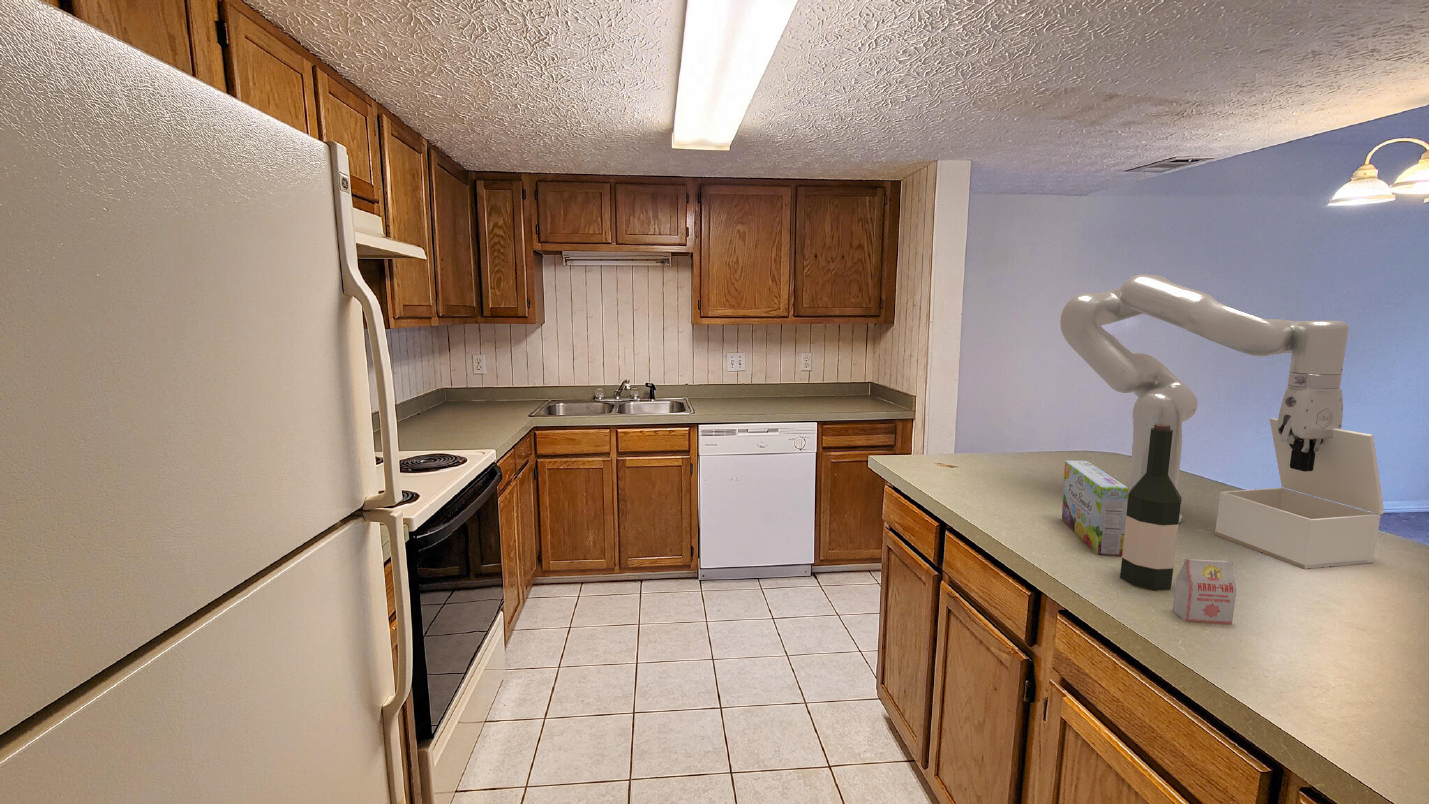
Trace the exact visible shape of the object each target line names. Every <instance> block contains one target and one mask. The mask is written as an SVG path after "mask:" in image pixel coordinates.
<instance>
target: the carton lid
mask: <svg viewBox="0 0 1429 804" xmlns="http://www.w3.org/2000/svg"><path fill="white" fill-rule="evenodd" d="M1269 423H1270V428H1271V429H1270V430H1271V433H1272V439H1273V445H1274V450H1275V457H1276V462H1277V468H1278V473H1279V477H1280V478H1279V479H1280V484H1281V488H1285V489H1288V490H1292V491H1295V492H1299V493H1303V494H1306V495H1310V496H1314V497H1317V498H1321V499H1325V500H1328V501H1332V502H1335V503H1339V504H1343V505H1346V506H1350V507H1354V508H1357V509H1361V510H1365V511H1368V512H1372V513H1375V514H1379V515H1383V514H1385V509H1384V502H1383V501H1384V500H1383V495H1382V487H1381V480H1380V474H1379V473H1380V472H1379V466H1378V465H1379V464H1378V459H1377V453H1376V444H1375V437H1374V434H1371V433H1364V432H1361V431H1360V432H1359V431H1355V430H1354V431H1353V430H1347V429H1343V428H1341V429H1337V428H1335V429H1333V430H1332V432H1333V437H1332V438H1322V439H1323V443H1322V444H1321V445H1320V447H1319V450H1318V452H1315V453H1316V454H1315V461H1314V468H1313V471H1306V472H1304V471H1300V470H1296V469H1292V468H1290V460H1291V453H1292V450H1291V449H1290V445H1289V444H1288V443H1284V442H1281V441H1280V438H1281V434H1279V433H1278V430H1277V425H1278V417H1270V418H1269ZM1300 441H1301V440H1300Z"/></svg>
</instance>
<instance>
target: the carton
mask: <svg viewBox="0 0 1429 804" xmlns="http://www.w3.org/2000/svg"><path fill="white" fill-rule="evenodd" d="M1218 499H1219V500H1218V507H1217V515H1216V516H1217V517H1216V524H1215V532H1214V535H1215V536H1217V537H1219V538H1223V539H1225V540H1227V541H1230V542H1233V543H1236V544H1238V545H1241V546H1243V547H1246V548H1248V549H1252V550H1253V551H1256V550H1257V552H1259V553H1261V552H1263V553H1262V554H1263V555H1267V556H1269V557H1272V558H1274V559H1277V560H1279V561H1282V562H1285V563H1288V564H1290V565H1292V566H1295V567H1296V568H1297V567H1298V568H1301V569H1303V570H1307V569H1308V568H1311V569H1321V567H1323V568H1330V567H1329V566H1334V567H1343V566H1354V565H1355V566H1356V565H1364V564H1373V562H1374V556H1375V553H1376V552H1375V550H1376V546H1377V539H1378V533H1379V527H1380V521H1381V515H1382V514H1377V513H1374V512H1370V511H1366V510H1363V509H1359V508H1355V507H1352V506H1348V505H1345V504H1341V503H1337V502H1334V501H1330V500H1326V499H1323V498H1319V497H1315V496H1312V495H1308V494H1304V493H1301V492H1297V491H1294V490H1290V489H1286V488H1283V487H1272V488H1259V489H1258V488H1257V489H1244V490H1243V489H1242V490H1241V489H1240V490H1227V491H1220V492H1219V498H1218ZM1308 570H1309V569H1308Z"/></svg>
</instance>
